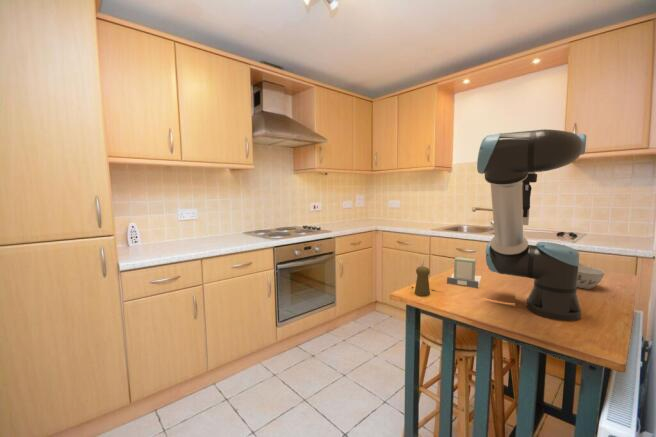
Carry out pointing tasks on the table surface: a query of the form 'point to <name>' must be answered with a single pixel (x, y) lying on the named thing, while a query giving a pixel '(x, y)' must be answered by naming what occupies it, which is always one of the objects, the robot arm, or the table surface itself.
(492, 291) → the table surface
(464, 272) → the tea tin
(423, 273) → the olive tapered upright piece
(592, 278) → the teacup
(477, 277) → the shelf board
